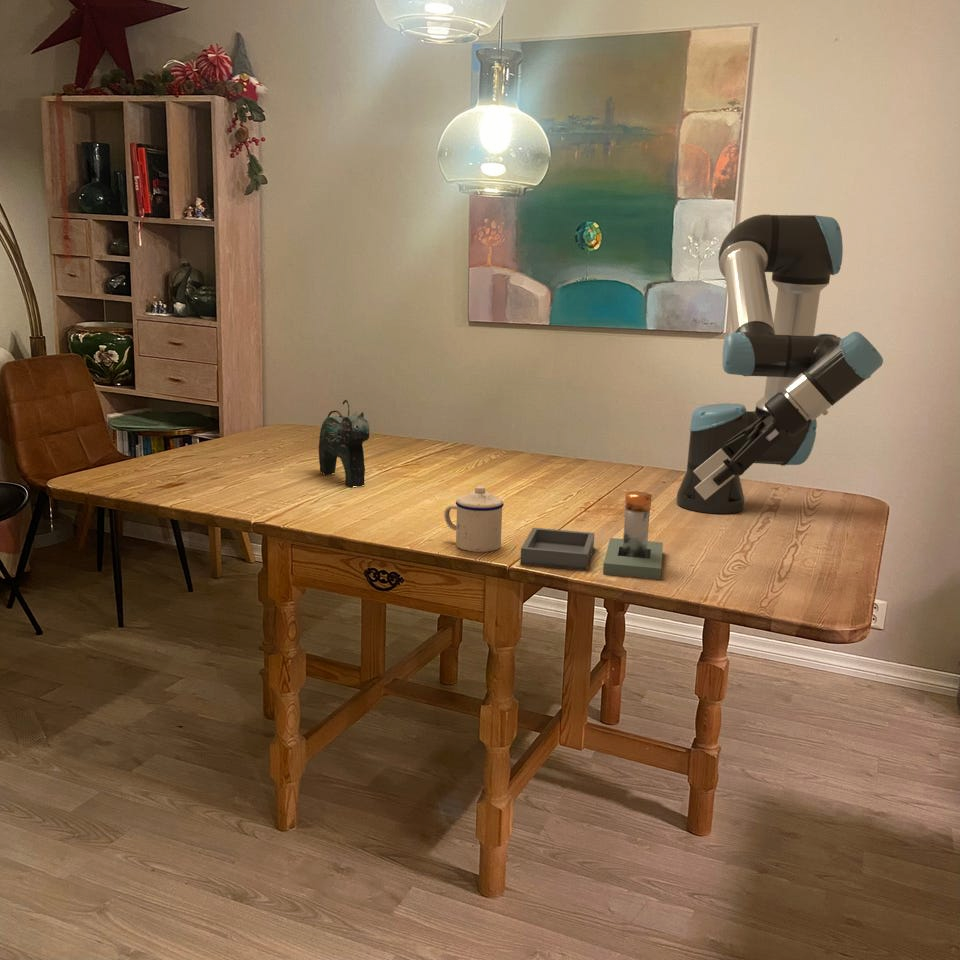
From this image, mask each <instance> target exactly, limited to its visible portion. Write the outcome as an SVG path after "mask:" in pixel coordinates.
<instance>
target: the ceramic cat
mask: <svg viewBox="0 0 960 960" xmlns="http://www.w3.org/2000/svg"><path fill="white" fill-rule="evenodd" d="M344 404H347V408H348V410H347V413H348V414H347V416H343V415H342V414H341V412H340V411H339V410H331V411H329V413H328V414H327V417H326V418H325V419H324V421H323V422H322V424H321V428H320V433H319V440H318V460H319V461H318V462H319V472H320V473H321V472H322V473H324V474H332V473H335V474H336V467H337V462H338V461H337V459H338V458H339V459H340V461H341V464H342V466H343V469H344V475H345V486H347V485H349V486H348V487H350V486H351V487H350V488H352V487H353V486H362V485H364V486H365V473H366V466H365V454H364V448H363V443H365V442H366V441H368V440H369V439H370V424H369V421H368V420H367V418H366V417H365V414H364V413H365V412H364V411H362V412H360V414H358V415H357V412H354V413H353V414H352V415H350V403H349V401H348V400H347V399H345V400H343V402H342V405H344ZM335 413H337V414H338V415H339V416H331V414H335ZM362 487H363V486H362Z"/></svg>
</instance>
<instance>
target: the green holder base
mask: <svg viewBox="0 0 960 960" xmlns="http://www.w3.org/2000/svg"><path fill="white" fill-rule="evenodd" d="M663 547H664V542H659V541H651V540H649V541H648V542H647V555H646V558H637V557H626V556H622V550H623V538H617V537H616V538H614V537H610V539H609V541H608V545H607V549H606V553H605V556H604V560H603V569H602V570H603V571H602V575H608V576H609V575H612V576H621V577H632V578H642V579H643V578H644V579H653V580H661V576H662V575H661V574H662V562H663Z"/></svg>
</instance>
